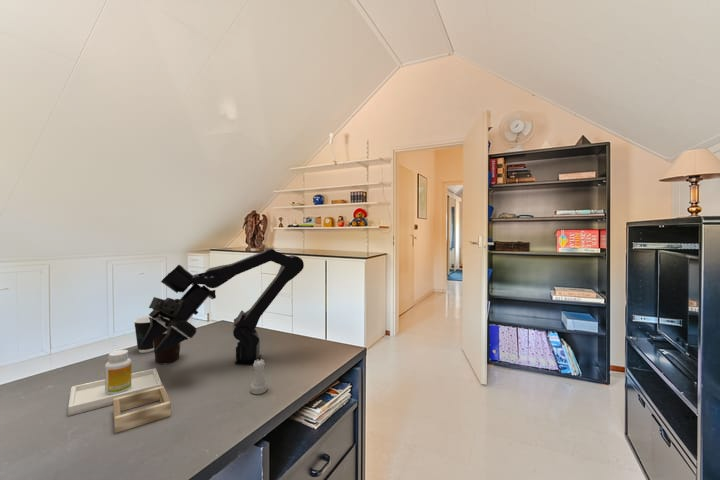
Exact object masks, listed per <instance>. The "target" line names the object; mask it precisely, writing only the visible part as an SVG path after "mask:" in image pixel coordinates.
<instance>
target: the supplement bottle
mask: <svg viewBox="0 0 720 480" xmlns="http://www.w3.org/2000/svg"><path fill="white" fill-rule="evenodd" d="M104 367H105V368H104V379H105V392H106V393H107V394H118V393H122V392H125V391H127V390H128V389H130V388H131V373H132V360H131V358H129V350H128V349H118V350H114V351H111V352H109V353H108V361H107V362H106V363H105V365H104Z"/></svg>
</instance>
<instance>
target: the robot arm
mask: <svg viewBox="0 0 720 480" xmlns="http://www.w3.org/2000/svg"><path fill="white" fill-rule="evenodd" d="M269 262H273V263H275V264H276V265H280V267H279V268H278V272H277V274H276V276H275V277H274V279H272V281H271V282H270V283H269V284H268V286H267V287H266V288H265V290H264V291H263V293H261V295H260V296H259V297H258V298H257V300H256V301H255V302H254V304H252V306H251V307H250V308H249V309H248V310H246V311H245V312H244V311H243V310H241V311H240V312H239V314H238V316H237V317H236V318H234V319H233V324H232V333H233V334H232V336H233V337H234V339H236V340H238V342H237V343H236V344H237V346H236V347H235V361H234V364H235V365H253V364H254V361H255V360H256V361H257V360H258V359H259V360H260V359H262V355H261V354H260V352H261V350H260V346H261V345H260V344H261V343H260V341H261V340H260V336H259V333H258V330H257V329H256V328H257V326H258V323H259V321H260V318H261V316H262V315H263V314H264V313H265V312H266V310H267V309H268V308H269V306H270V305H271V304H272V303H273V301H274V300H275V299H276V297H278V295H279V294H280V292H281V291H282V289H283V288H285V286H286V284H288V282H290V281H291V280H293V279H294V278H295V277H297V276H298V275H299V274H300V273H301V272H302V271H303V270H304V268H305V267H304V266H305V264H304V260H303V259H302V258H301V257H299V256H297V255H294V254H290V255H286V254H283V253H282V252H279V251H276V250H275V249H273V248H267V249H265V250H262V251H260V252H258V253H256V254H253V255H250V256H248V257H245V258H243V259H240V260H238V261H235V262H233V263H229V264H222V265H219V266H218V265H217V266H214V267H213V266H212V267H210V268H208V269H206V270H205V271H203V272H201V273H196V274H193V273H191V272H190V271H188V270H187V269H186V268H184V267H183V266H182V265H181V264H177V266H176V267H175V268H173V270H172V271H170V272H168V274H167V275H165V277H163V279H161V281H160V283H162V284H163V285H164V286H165V287H168V288H169V289H170V290H172V291H173V292H174V293H176V294H178V293H182V296H181V297H180V299H179V298H175V299H174V298H171V297H167V298H166V299H163V298H160V297H156V296H153V298H152V300H151V302H150V304H149V306H148V309H152V311H151V312H150V313H149V314H148V316H151V317H152V318H151V317H149V320H150V327H149V329H148V331H147V333H146V335H145V337H144V339H143V341H142V343H141V345H142V346H146V345H147V344H149V343H150V342H152V341H153V340H154V339H156V338H157V337H159V336H160V335H161V334H163V333H164V332H166V331H167V334H166V336H165V337H164V338H163V340H162V341H161V342H160V344H159V345H158V347H157V348H156V350H155V351H154V350H153V353H154V355H155V354H159V353H161V352H163V351H165V350H166V349H168V348H170V347H172V346H174V345H176V344H178V343H180V342H181V343H182V342H184V341H187V340H188V339H192V338H193V337H194V336H195V335H196V334H197V327H196V326H194V325H193V324H191V323H190V322H189V320H190V319H191V317H192V316H193V315H195V316H196V315H197V314H199V311H198V309H199V308H200V307H201V305H203V304H204V302H206V300H207V299H208V298H209V299H210V300H214V299H216V298H217V296H216V289H217V288H219V287H221V286H222V285H223V284H225V283H227V282H228V281H230V280H231V279H232V278H234V277H235V276H237V275H240V274H243V273H244V272H247V271H249V270H252V269H255V268H257V267H260V266H261V265H264V264H267V263H269ZM201 285H202V286H201ZM190 286H191V287H190ZM188 288H189V289H188ZM187 289H188V290H187ZM211 289H213V290H211ZM186 290H187V291H186ZM183 293H184V294H183ZM164 326H166V327H167V328H166V327H164ZM170 326H173V327H174V328H172V327H170Z"/></svg>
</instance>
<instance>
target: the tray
mask: <svg viewBox="0 0 720 480" xmlns="http://www.w3.org/2000/svg"><path fill="white" fill-rule="evenodd" d="M161 386H163V383H162V381H161V379H160V376H159V373H158V370H157V368H156V367H154V368H150V369H144V370H142V371H137V372H131V388H130V389H128V390H127V391H125V392H122V393H118V394H107V393H106V392H105V378H104V379H100V380H95V381H91V382H87V383H82V384H78V385H73V386H71V390H70V393H69V401H68V406H67V407H68V409H67V416H68V417H71V416H73V415H78V414H83V413H85V412H89V411H93V410H97V409H98V410H99V409H100V408H106V407H108V406H113V399H114V398H117V397H121V396H125V395H129V394H133V393H137V392H141V391H145V390H149V389H153V388H157V387H161Z"/></svg>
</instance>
